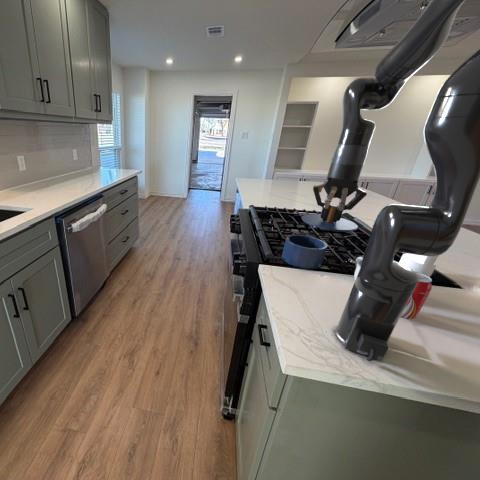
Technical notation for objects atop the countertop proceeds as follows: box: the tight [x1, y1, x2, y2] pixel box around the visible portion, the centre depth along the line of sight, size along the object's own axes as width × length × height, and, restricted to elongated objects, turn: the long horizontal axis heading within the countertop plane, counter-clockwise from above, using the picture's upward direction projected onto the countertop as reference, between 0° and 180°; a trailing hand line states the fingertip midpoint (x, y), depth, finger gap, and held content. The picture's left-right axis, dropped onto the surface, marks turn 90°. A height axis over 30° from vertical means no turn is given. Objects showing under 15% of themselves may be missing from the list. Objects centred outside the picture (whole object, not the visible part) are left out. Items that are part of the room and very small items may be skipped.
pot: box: [281, 234, 328, 270], centre depth 96 cm, size 14×14×8 cm
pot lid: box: [301, 203, 359, 233], centre depth 76 cm, size 15×15×6 cm
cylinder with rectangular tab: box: [398, 253, 439, 278], centre depth 89 cm, size 9×9×12 cm
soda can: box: [400, 271, 433, 320], centre depth 68 cm, size 7×7×12 cm
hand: (329, 220), depth 77 cm, fingers closed on pot lid, 2 cm apart
